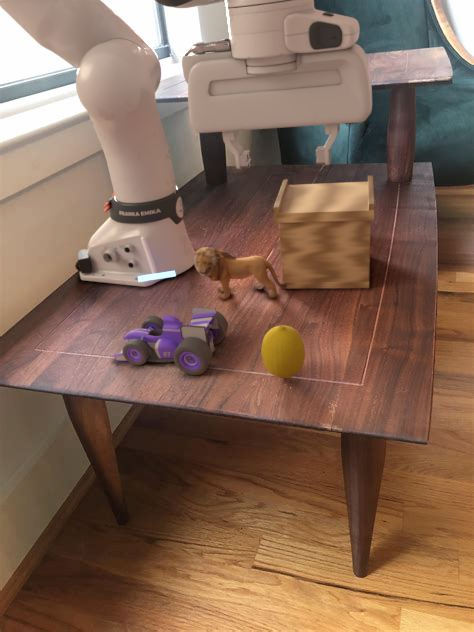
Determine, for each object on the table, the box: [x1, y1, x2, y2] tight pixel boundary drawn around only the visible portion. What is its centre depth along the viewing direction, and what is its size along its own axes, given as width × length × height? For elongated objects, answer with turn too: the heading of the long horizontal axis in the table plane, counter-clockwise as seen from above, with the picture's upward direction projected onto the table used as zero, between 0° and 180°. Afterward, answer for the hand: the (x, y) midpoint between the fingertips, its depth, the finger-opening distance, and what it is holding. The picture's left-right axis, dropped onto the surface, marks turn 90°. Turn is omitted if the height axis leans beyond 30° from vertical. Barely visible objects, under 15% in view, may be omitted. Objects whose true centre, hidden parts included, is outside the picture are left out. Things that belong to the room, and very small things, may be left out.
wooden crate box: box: [273, 175, 375, 290], centre depth 91 cm, size 15×13×15 cm
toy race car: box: [113, 306, 229, 376], centre depth 78 cm, size 10×15×6 cm, turn 73°
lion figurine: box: [194, 246, 288, 300], centre depth 89 cm, size 15×5×9 cm, turn 90°
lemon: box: [260, 324, 306, 379], centre depth 69 cm, size 6×6×8 cm
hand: (283, 165), depth 64 cm, fingers open, 8 cm apart
